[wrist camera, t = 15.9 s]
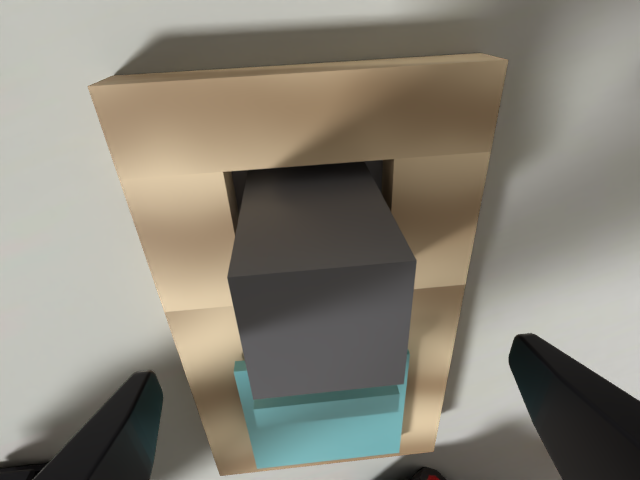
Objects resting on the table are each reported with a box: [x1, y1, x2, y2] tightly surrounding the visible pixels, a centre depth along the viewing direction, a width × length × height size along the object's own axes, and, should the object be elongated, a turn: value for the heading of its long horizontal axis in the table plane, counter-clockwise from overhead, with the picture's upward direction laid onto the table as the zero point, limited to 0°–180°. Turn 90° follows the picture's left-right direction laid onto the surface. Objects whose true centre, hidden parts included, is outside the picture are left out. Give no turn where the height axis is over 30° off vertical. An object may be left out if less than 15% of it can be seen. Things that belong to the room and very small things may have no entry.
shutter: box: [234, 350, 410, 469], centre depth 19 cm, size 8×8×3 cm
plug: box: [227, 161, 417, 400], centre depth 14 cm, size 5×5×7 cm
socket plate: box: [88, 53, 508, 476], centre depth 19 cm, size 22×13×2 cm, turn 3°
